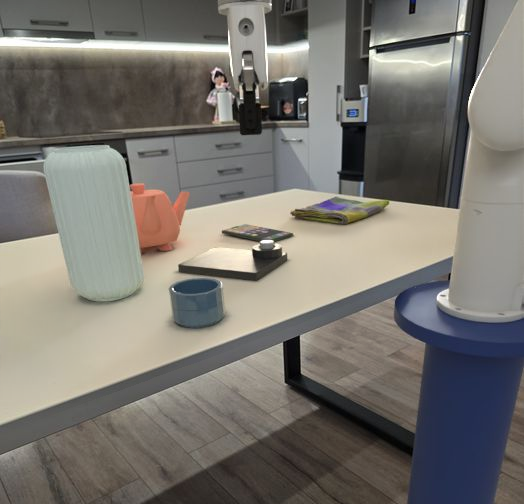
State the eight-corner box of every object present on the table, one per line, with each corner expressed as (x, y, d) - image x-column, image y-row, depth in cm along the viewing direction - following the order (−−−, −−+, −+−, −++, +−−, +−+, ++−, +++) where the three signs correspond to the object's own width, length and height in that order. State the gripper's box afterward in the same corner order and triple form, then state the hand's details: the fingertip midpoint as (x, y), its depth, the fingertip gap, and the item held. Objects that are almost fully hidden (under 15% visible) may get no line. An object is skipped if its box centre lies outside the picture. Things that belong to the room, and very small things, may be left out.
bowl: (234, 312, 69) (231, 280, 66) (207, 332, 63) (203, 298, 61) (192, 306, 72) (188, 275, 69) (163, 324, 66) (157, 291, 64)
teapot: (196, 239, 109) (189, 177, 103) (163, 261, 95) (153, 190, 89) (134, 238, 114) (124, 179, 108) (93, 258, 99) (78, 191, 93)
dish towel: (392, 209, 131) (393, 198, 130) (344, 226, 115) (344, 214, 114) (338, 204, 142) (338, 194, 140) (287, 219, 125) (286, 208, 124)
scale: (287, 259, 92) (287, 244, 90) (256, 280, 81) (255, 263, 80) (216, 253, 98) (215, 238, 97) (178, 272, 88) (176, 256, 86)
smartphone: (269, 243, 103) (269, 237, 103) (221, 235, 113) (221, 230, 112) (293, 236, 109) (293, 230, 108) (245, 228, 118) (245, 223, 117)
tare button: (276, 247, 90) (275, 240, 89) (270, 251, 88) (269, 243, 87) (263, 246, 91) (263, 239, 90) (257, 249, 89) (257, 242, 88)
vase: (125, 278, 86) (100, 143, 76) (159, 291, 78) (137, 144, 68) (62, 295, 79) (26, 150, 69) (93, 312, 72) (58, 151, 62)
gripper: (275, -17, 59) (278, 134, 67) (268, 9, 75) (271, 130, 82) (214, -15, 59) (224, 137, 67) (220, 11, 74) (227, 132, 82)
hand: (250, 133), depth 75 cm, fingers open, 9 cm apart
